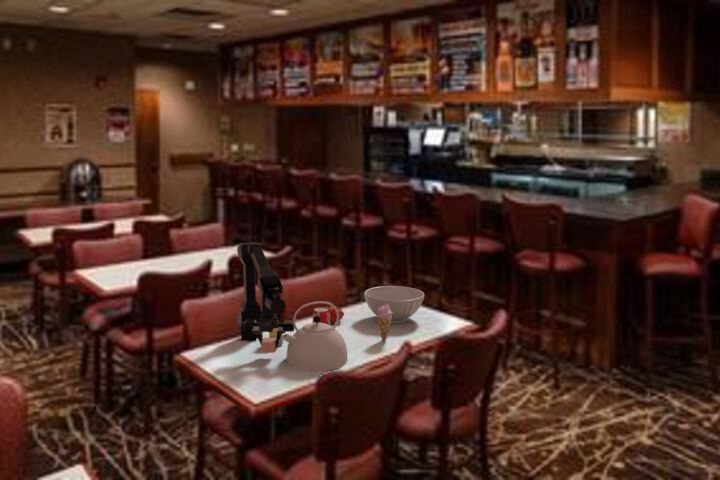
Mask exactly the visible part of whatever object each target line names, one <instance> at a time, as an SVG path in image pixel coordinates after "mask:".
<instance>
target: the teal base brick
mask: <svg viewBox="0 0 720 480" xmlns="http://www.w3.org/2000/svg"><path fill="white" fill-rule="evenodd" d="M283 335H284V334H283ZM283 335H282V336H283ZM268 338H277V337H269V336H268ZM284 341H285V340H284V339H283V338H282V337H281V338H280V341H279V344H278V345H280V346H279V347H283V345H284ZM282 344H283V345H282Z"/></svg>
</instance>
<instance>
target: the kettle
mask: <svg viewBox="0 0 720 480" xmlns="http://www.w3.org/2000/svg"><path fill="white" fill-rule="evenodd" d="M318 304H325V305H329V306H332V307H333V308H334V309H335V310H336V313H337V320H336V323H335V324H333V326H331V324H330V325H328V324H324V323H319V322H320V320H321V318H320V317H319V316H315V317H314V322H315V323H313V322H311V323H307V324H305V325H303V326H302V327H300V328H299V329H298V327H297V324H296V317H297V314H299V312H300V311H301V310H302V309H304V308H306V307H308V306H313V305H318ZM335 306H336V305H334V304H333V303H332V302H329V301H325V300H324V301H312V302H308V303H305V304H303V305H302V306H299V308H297V309H296V311H295V313H294V315H293V318H292V320H293V325H294V328H295V329H294V331H295V333H293V335H291V334H289V333H284V334H283V336H282V338H283V339H284V341H286V342H287V343H288V344H287V347H286V348H287V349H286V363H287V365H288V366H290V367H291V368H293V367H294V369H296V368H297V370H300V371H306V370H308V372H324V371H331V370H332V371H333V370H336V369H338V368H342V367H343V366H345V365H346V364H347V363H348V361H349V360H348V358H349V357H348V348H347V344H346V341H345V339H344V338H343V336H342V334H341V333H340V332H339V331H338V330H337V329H336V327H337V325H338V324H339V323H338V321H340V320H339V313H338V310H337V308H338V307H337V308H336V307H335Z"/></svg>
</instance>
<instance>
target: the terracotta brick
mask: <svg viewBox="0 0 720 480" xmlns="http://www.w3.org/2000/svg"><path fill="white" fill-rule="evenodd" d="M276 339H277V338H269V337H263V340H262V342H261V344H260V346H261V345H262V347H261V353H269V354H271V353H273V354H275V353H276V351H277V350H278V348H279V346H278V347H277V348H276Z"/></svg>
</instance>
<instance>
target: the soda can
mask: <svg viewBox="0 0 720 480" xmlns="http://www.w3.org/2000/svg"><path fill="white" fill-rule="evenodd" d="M315 316H319V317H320V318H321V320H320V322H319V323H324V324H328V325H330V326H331V323H330V313H329V311H328V309H327V308H325V307H315V308H314V309H313V312H312V323H315V322H314V317H315Z"/></svg>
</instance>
